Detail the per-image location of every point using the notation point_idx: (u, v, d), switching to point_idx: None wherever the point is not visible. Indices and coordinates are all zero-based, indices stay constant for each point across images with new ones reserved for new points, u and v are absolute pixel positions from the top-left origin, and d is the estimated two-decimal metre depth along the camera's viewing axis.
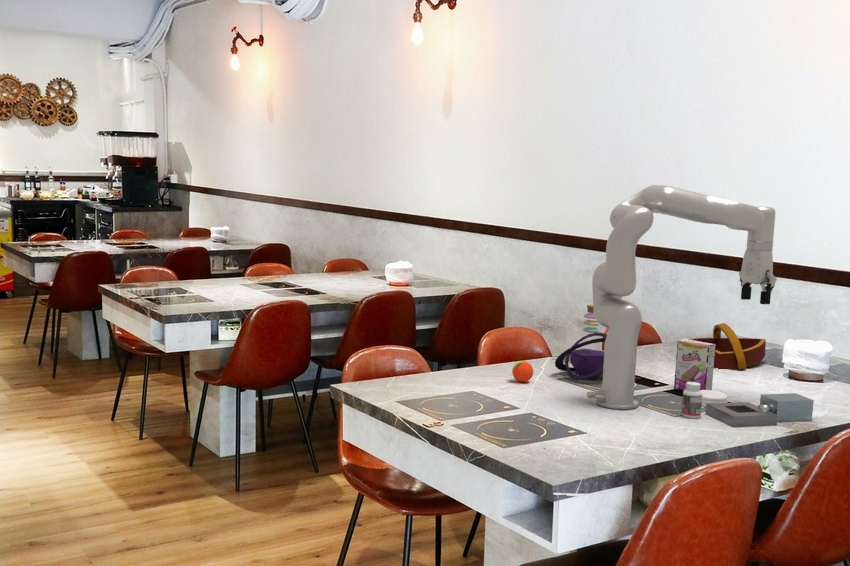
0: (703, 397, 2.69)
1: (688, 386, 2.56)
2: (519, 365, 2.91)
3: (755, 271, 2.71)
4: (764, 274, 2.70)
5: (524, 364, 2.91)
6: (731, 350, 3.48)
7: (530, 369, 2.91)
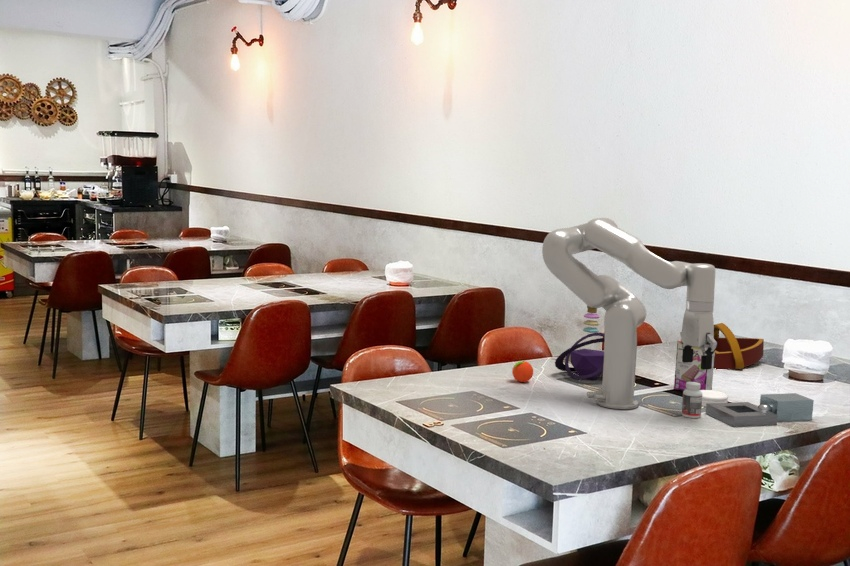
0: (703, 397, 2.69)
1: (688, 386, 2.56)
2: (519, 365, 2.91)
3: (695, 334, 2.51)
4: (704, 337, 2.50)
5: (524, 364, 2.91)
6: (729, 350, 3.48)
7: (530, 369, 2.91)
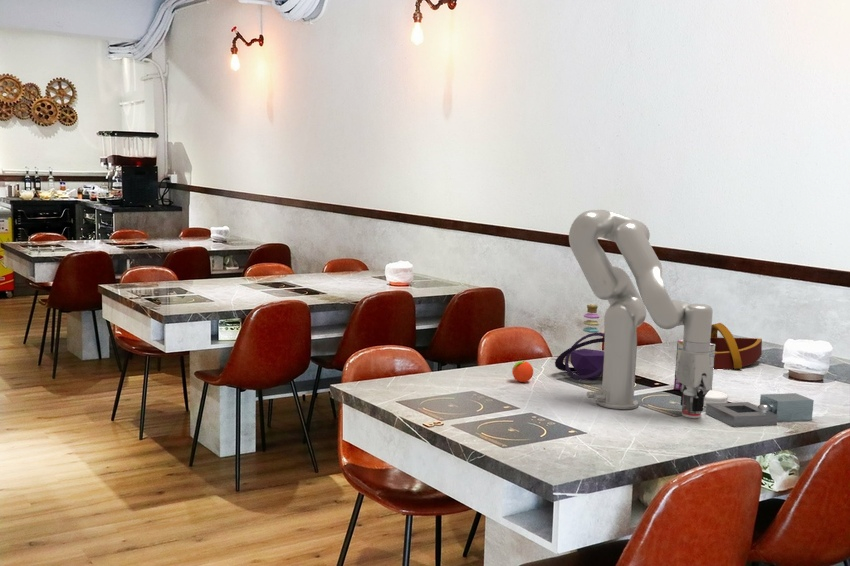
0: None
1: (688, 386, 2.56)
2: (519, 365, 2.91)
3: (691, 374, 2.53)
4: (700, 378, 2.51)
5: (524, 364, 2.91)
6: (727, 350, 3.48)
7: (530, 369, 2.91)
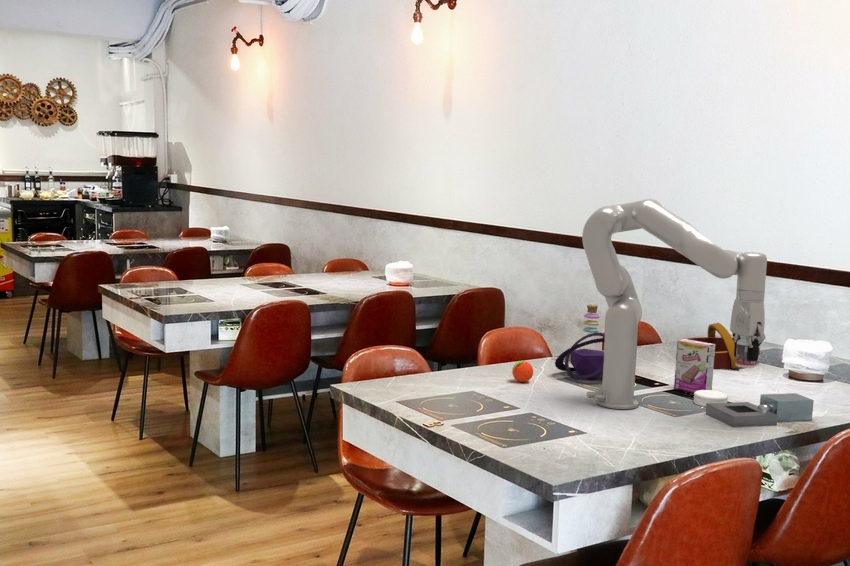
0: (703, 397, 2.69)
1: None
2: (519, 365, 2.91)
3: (745, 323, 2.50)
4: (755, 326, 2.48)
5: (524, 364, 2.91)
6: (726, 350, 3.48)
7: (530, 369, 2.91)
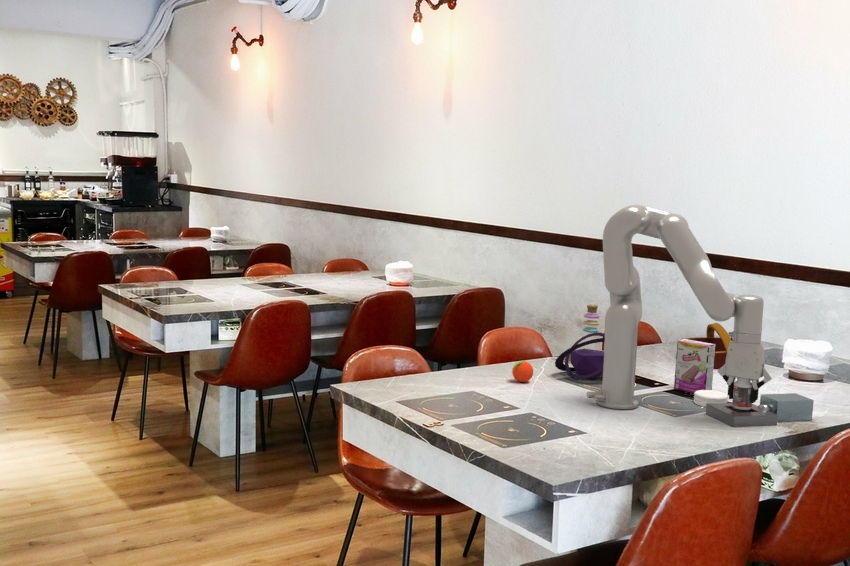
0: (703, 397, 2.69)
1: None
2: (519, 365, 2.91)
3: (751, 366, 2.51)
4: (761, 369, 2.51)
5: (524, 364, 2.91)
6: (724, 350, 3.48)
7: (530, 369, 2.91)
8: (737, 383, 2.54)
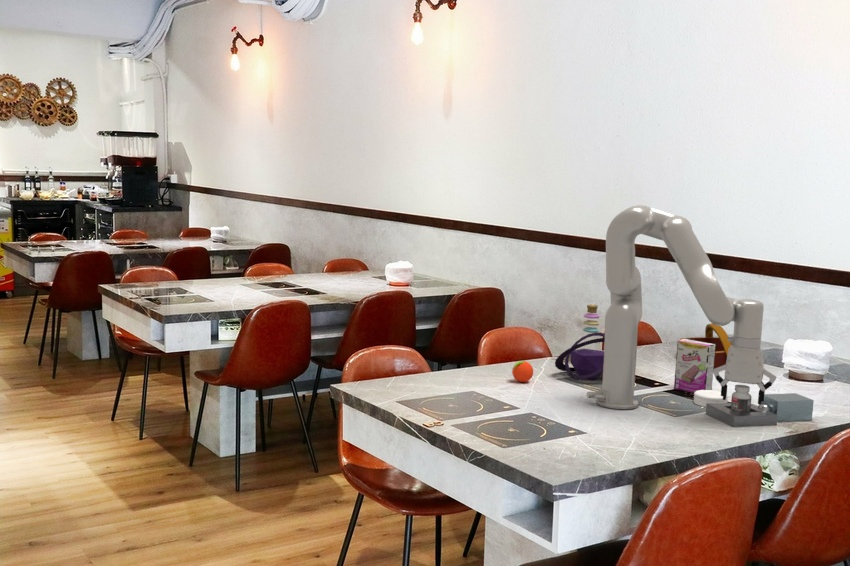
0: (703, 397, 2.69)
1: (743, 390, 2.54)
2: (519, 365, 2.91)
3: (754, 371, 2.51)
4: (762, 373, 2.52)
5: (524, 364, 2.91)
6: (723, 350, 3.48)
7: (530, 369, 2.91)
8: (736, 395, 2.54)
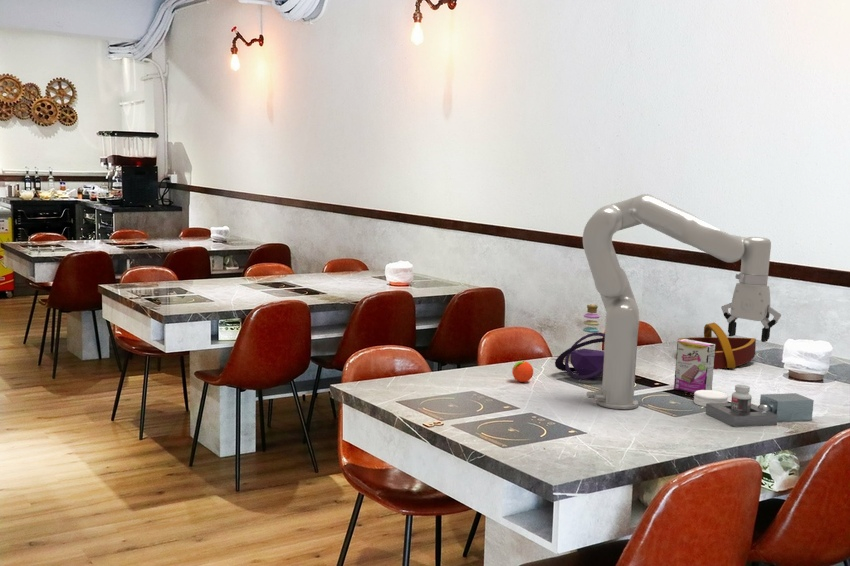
0: (703, 397, 2.69)
1: (743, 390, 2.54)
2: (519, 365, 2.91)
3: (756, 307, 2.52)
4: (766, 310, 2.52)
5: (524, 364, 2.91)
6: (722, 350, 3.48)
7: (530, 369, 2.91)
8: (737, 395, 2.54)
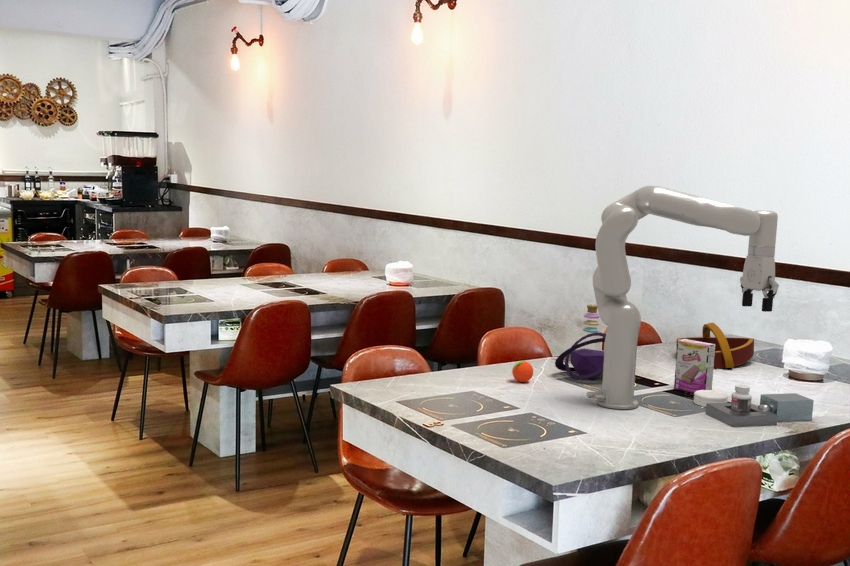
0: (703, 397, 2.69)
1: (743, 390, 2.54)
2: (519, 365, 2.91)
3: (757, 277, 2.63)
4: (766, 280, 2.61)
5: (524, 364, 2.91)
6: (720, 349, 3.48)
7: (530, 369, 2.91)
8: (737, 395, 2.54)
